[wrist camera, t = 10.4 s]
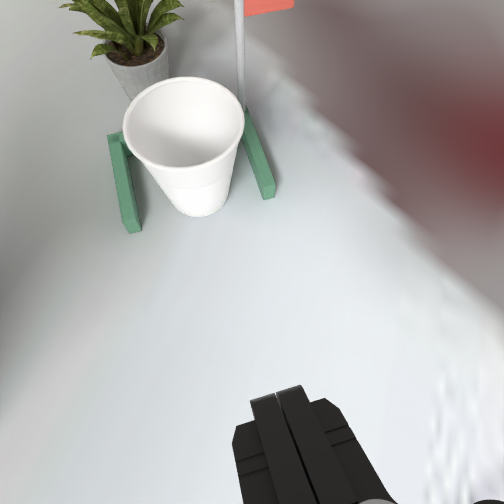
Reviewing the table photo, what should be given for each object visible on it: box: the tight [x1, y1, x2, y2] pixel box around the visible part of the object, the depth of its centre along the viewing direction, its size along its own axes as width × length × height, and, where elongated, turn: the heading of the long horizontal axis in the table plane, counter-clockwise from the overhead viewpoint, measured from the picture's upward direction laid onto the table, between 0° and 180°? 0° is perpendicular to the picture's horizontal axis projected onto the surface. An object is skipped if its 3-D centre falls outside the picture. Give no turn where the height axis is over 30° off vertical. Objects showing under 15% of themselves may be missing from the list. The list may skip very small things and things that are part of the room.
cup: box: [123, 76, 245, 217], centre depth 37 cm, size 10×10×11 cm
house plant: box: [59, 0, 185, 101], centre depth 41 cm, size 14×14×16 cm
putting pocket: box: [107, 0, 294, 233], centre depth 36 cm, size 20×11×16 cm, turn 106°
